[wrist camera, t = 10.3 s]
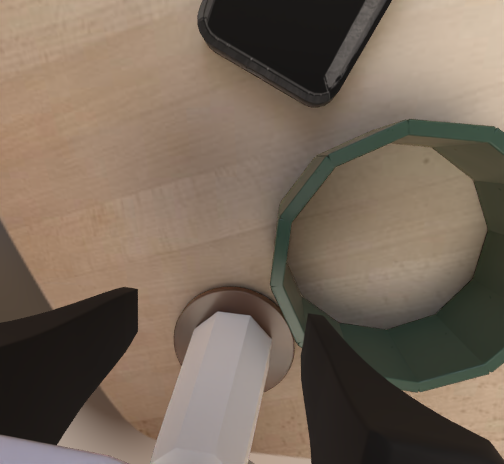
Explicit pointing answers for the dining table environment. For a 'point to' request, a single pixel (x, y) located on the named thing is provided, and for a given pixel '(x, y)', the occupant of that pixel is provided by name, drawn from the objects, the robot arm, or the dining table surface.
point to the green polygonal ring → (459, 307)
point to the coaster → (244, 304)
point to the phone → (292, 40)
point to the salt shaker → (216, 394)
